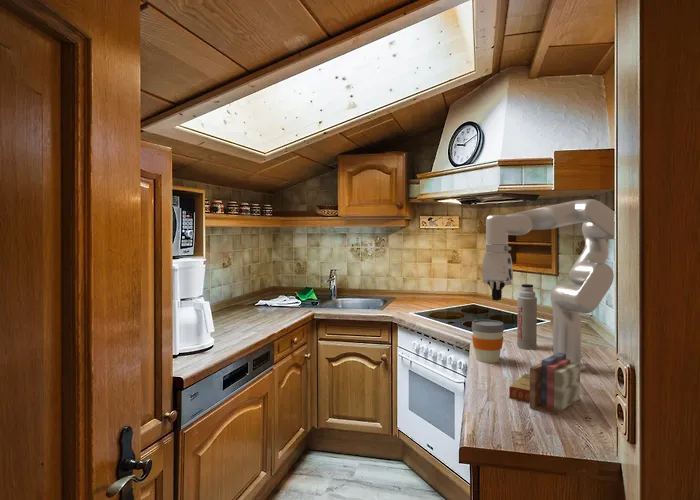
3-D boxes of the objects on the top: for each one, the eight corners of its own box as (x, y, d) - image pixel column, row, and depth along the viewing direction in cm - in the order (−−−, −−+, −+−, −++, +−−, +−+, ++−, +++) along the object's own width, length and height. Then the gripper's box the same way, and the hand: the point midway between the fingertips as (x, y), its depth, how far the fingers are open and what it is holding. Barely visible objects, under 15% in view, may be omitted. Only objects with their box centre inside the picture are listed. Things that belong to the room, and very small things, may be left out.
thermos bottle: (520, 349, 193) (521, 285, 192) (514, 344, 201) (515, 283, 200) (539, 349, 193) (539, 285, 192) (532, 344, 201) (533, 283, 200)
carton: (508, 399, 139) (508, 385, 139) (524, 384, 151) (524, 372, 151) (536, 405, 134) (536, 391, 134) (550, 389, 146) (550, 377, 146)
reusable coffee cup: (472, 353, 188) (472, 318, 187) (503, 356, 184) (504, 320, 183) (470, 362, 176) (470, 324, 175) (503, 365, 172) (504, 326, 171)
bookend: (556, 392, 143) (557, 350, 142) (582, 399, 137) (583, 355, 136) (529, 408, 131) (529, 361, 130) (556, 416, 125) (556, 367, 124)
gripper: (521, 249, 157) (521, 301, 158) (484, 248, 168) (484, 296, 169) (510, 250, 152) (510, 303, 153) (472, 249, 163) (472, 298, 164)
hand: (496, 299), depth 161 cm, fingers closed
